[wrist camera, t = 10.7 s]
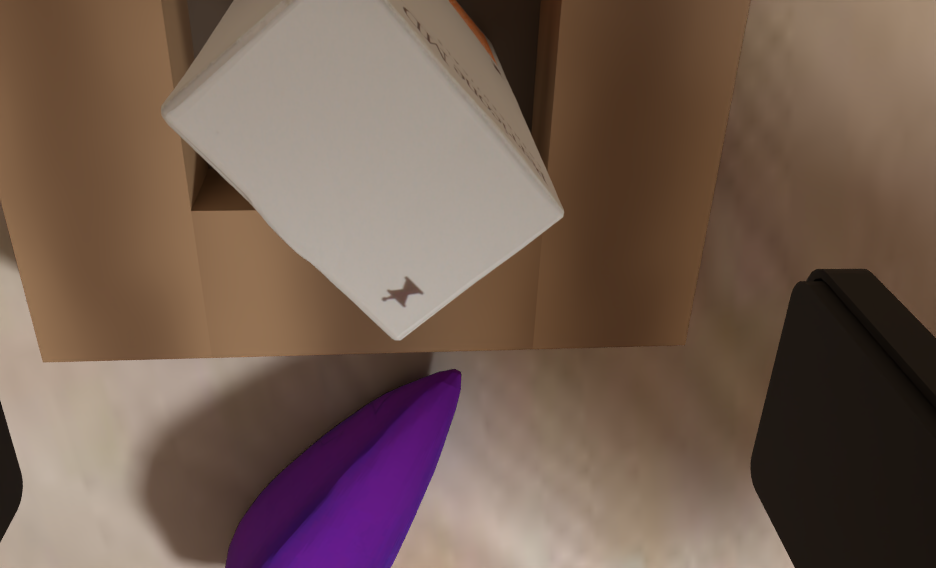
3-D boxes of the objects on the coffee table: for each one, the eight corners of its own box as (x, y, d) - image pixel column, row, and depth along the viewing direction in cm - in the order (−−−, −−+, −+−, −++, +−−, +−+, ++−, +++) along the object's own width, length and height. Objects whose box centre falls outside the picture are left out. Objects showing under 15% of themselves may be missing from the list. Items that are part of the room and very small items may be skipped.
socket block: (770, -417, 21) (835, -448, 18) (655, 289, 31) (684, 345, 28) (-100, -469, 19) (-188, -512, 16) (76, 301, 29) (43, 362, 26)
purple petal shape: (522, 439, 29) (285, 719, 33) (496, 364, 34) (289, 620, 38) (406, 375, 28) (170, 679, 32) (394, 306, 32) (188, 580, 36)
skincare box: (497, 42, 26) (578, 223, 15) (387, 131, 27) (395, 355, 17) (358, -136, 23) (345, -58, 13) (243, -29, 24) (144, 122, 14)
